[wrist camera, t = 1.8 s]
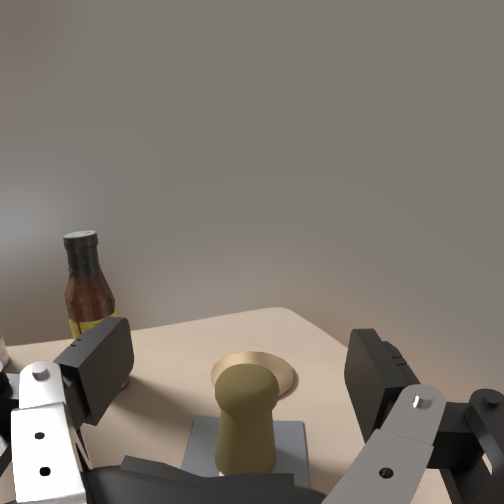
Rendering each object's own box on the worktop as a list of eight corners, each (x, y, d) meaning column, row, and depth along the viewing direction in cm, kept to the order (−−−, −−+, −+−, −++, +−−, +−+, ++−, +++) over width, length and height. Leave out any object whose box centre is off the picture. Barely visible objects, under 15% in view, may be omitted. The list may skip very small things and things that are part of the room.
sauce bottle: (138, 374, 39) (121, 229, 35) (116, 401, 33) (89, 240, 29) (100, 364, 40) (79, 227, 36) (76, 387, 34) (45, 237, 30)
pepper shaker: (266, 434, 30) (273, 350, 27) (284, 475, 24) (297, 390, 22) (209, 442, 29) (203, 357, 26) (220, 486, 23) (214, 402, 20)
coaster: (205, 398, 36) (204, 394, 36) (217, 352, 47) (217, 349, 46) (296, 403, 36) (296, 399, 35) (291, 356, 46) (291, 352, 46)
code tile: (172, 499, 21) (172, 498, 21) (195, 416, 33) (195, 415, 33) (311, 508, 20) (311, 507, 20) (302, 422, 32) (302, 421, 32)
